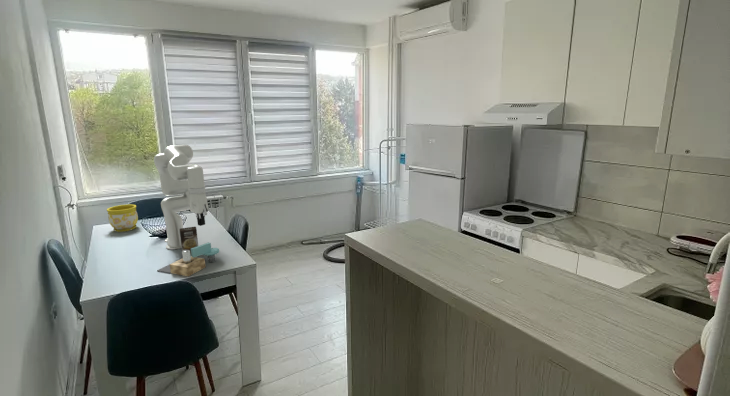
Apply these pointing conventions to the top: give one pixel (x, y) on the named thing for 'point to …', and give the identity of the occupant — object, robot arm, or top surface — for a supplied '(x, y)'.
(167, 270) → the place mat
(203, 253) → the teal toy sofa
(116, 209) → the flowerpot
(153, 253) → the top surface
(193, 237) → the coffee box
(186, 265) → the block
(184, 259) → the hook peg
